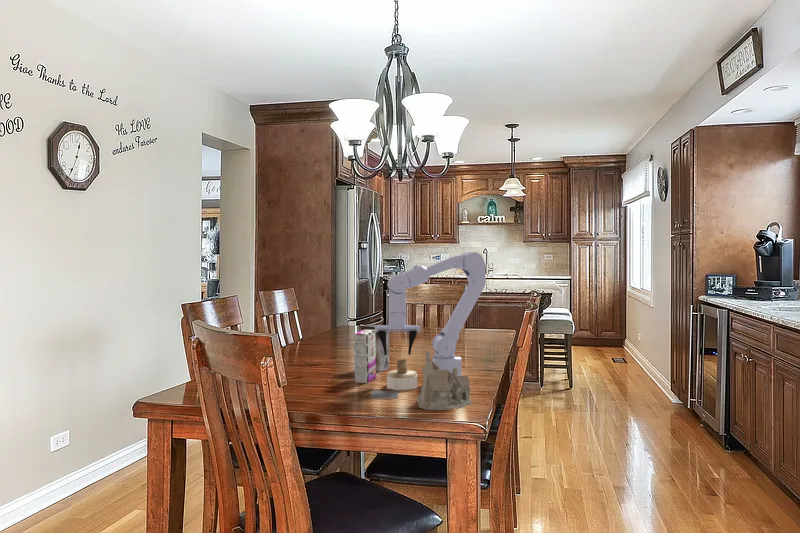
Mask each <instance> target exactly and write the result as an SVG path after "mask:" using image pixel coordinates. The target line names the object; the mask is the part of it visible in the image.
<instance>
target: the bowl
mask: <svg viewBox="0 0 800 533" xmlns="http://www.w3.org/2000/svg"><path fill="white" fill-rule="evenodd" d="M386 389H389V390H392V391H411V390H414V389H418V375H417V376H415V377H412V378H392V377H389V376H387V375H386Z"/></svg>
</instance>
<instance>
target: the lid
mask: <svg viewBox="0 0 800 533" xmlns="http://www.w3.org/2000/svg"><path fill="white" fill-rule="evenodd" d="M396 363H397V364H396V369H394V370H390V371H387V373H386V377H387V376H389V377H392V378H412V377H415V376H417V377H418V373H417V371H415V370H411V369H410V370H409V369H408V365H407V363H408V361H407V359H405V358H401V359H400V358H399V359H397V360H396Z"/></svg>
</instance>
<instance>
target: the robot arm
mask: <svg viewBox="0 0 800 533" xmlns="http://www.w3.org/2000/svg"><path fill="white" fill-rule="evenodd" d="M483 257H484V256H482V255H481V253H478V252H475V251H474V252H473V251H472V252H464V253H461V254H457V255H456V254H455V255H453V256H450V257H447V258H445V259H443V260H440V261H438V262H435V263H434V264H431V265H429V266H424V265H422V264H421V265H420V264H419V265H418V264H416V265H413V267H412V268H410V269H408V270H402V271H399V274H393V275H392V276H390V277H389V279H388V281H387V284H386V286H387V288H388V290H389V291H388V324H385V325H384V324H377V325H378V326H375V332H378V335H379V338H380V340H381V342H382V345H383V349H384V355H387V346H386V332H389V333H397V332H398V333H401V332H402V333H404V332H406V333H408V352H407V353H408V354H407V355H410V356H411V353H412V347H413V345H414V341H415V340H416V336H417V335H418V334H417V333H421V325H415V324H407V297H406V294H407V293H406V291H407V289H409V290H410V289H412V288H414V287H417V286H420V285H422V284H424V283H427V282H428V281H429V279H430V277H432V276H435V275H438V274H441V273H442V272H445V271H449V270H452V269H458V270H459V269H460V270H462V271H463V273H464V274H465V277H466V278H467V282H468V284H467V285H466V287H465V290H464V292H463V293H462V295H461V297H460V298H459V301H458V302H457V304H456V306H455V308H454V310H453V312H452V313H451V315H450V317H449V319H448V320H447V323H446V324H445V326H444V327H442V328H441V330H440V332H439V333H438V334H437V335H435V336H434V338H432V340H431V341H432V342H431V345H432V349H433V350H434V353H433V354H432V361H433V362H434V363H435V364H436V365H437V366H438V367H439V369H440V370H445V369H446V370H449V371H450V372H451V373H452V372H453V368H455V367H456V368H457V371H458V375H463V372H462V371H463V370H462V368H463V366H462V365H463V364H462V357H461V356H456V354H455V352H456V350H457V343H458V340H459V337H460V332H461V331H462V329H463V327H464V325H465V323H466V322H467V319H468V317H469V315H470V314H471V312H472V310H473V309H474V308H475V307H474V306H475V305H476V303H477V302H478V300H479V297H480V296H481V294H482V292H483V291H484V288H485V287H486V283H487V282H486V267H487V264H486V262H485V260H484V258H483Z"/></svg>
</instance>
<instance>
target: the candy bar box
mask: <svg viewBox="0 0 800 533" xmlns="http://www.w3.org/2000/svg"><path fill="white" fill-rule="evenodd" d="M353 351H354V352H353V356H354V358H353V359H354V361H353V362H354V383H358V384H359V383H360V384H362V383H363V384H369V383H370V382H371V381H373V380H375V379H376V378H377V371H376V336H375V330H362V331H361V330H360V331H358V332H355V333H354V334H353Z"/></svg>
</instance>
